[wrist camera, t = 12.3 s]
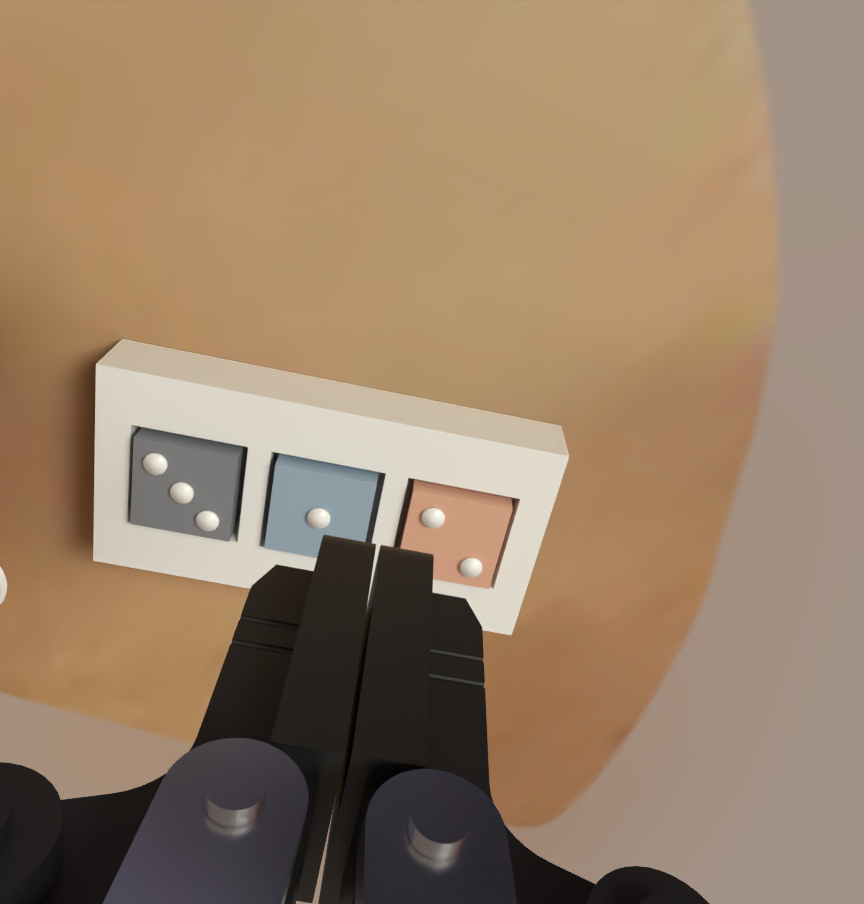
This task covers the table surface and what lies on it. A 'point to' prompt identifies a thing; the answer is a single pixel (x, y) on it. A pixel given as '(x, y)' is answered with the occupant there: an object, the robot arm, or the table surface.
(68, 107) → the table surface
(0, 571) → the chess piece
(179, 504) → the three-dot button
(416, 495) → the two-dot button
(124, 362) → the button panel
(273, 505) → the one-dot button
